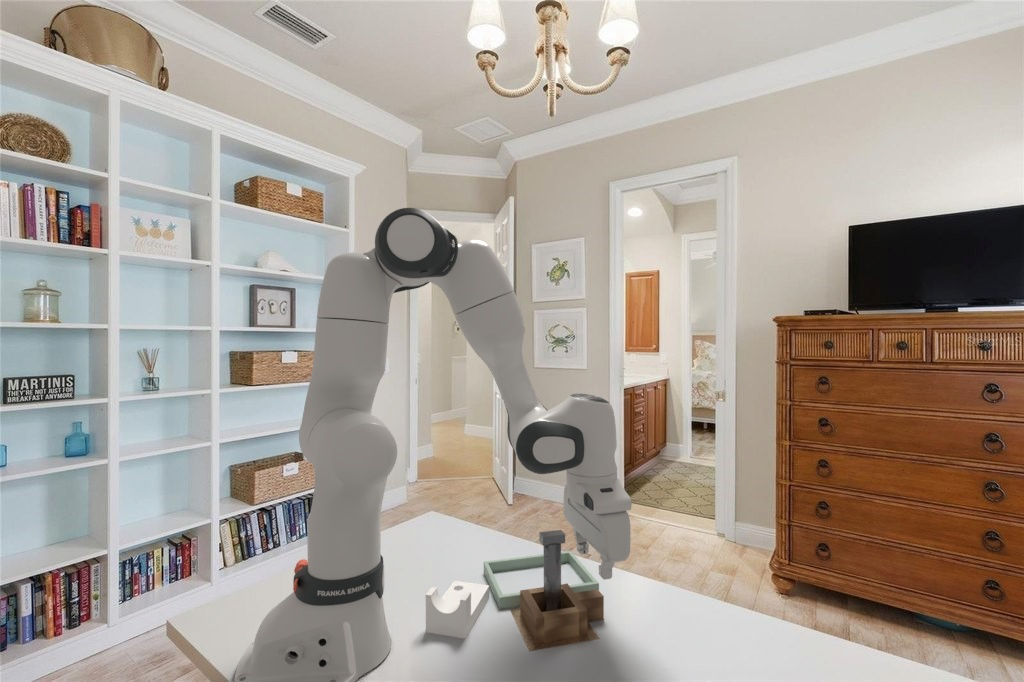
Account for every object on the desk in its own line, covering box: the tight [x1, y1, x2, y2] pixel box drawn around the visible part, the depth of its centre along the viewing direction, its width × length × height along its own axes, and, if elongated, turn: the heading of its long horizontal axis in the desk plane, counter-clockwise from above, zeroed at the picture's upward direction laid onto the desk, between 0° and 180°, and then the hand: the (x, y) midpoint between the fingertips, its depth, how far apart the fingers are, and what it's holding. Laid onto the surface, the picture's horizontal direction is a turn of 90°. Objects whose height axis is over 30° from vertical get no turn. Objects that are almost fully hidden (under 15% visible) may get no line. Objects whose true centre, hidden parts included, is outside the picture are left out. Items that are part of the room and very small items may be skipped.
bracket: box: [425, 580, 490, 640], centre depth 86 cm, size 13×7×8 cm, turn 165°
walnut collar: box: [519, 583, 605, 643], centre depth 83 cm, size 14×9×4 cm, turn 105°
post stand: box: [509, 529, 600, 652], centre depth 83 cm, size 12×12×16 cm
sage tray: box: [483, 550, 600, 610], centre depth 97 cm, size 20×15×3 cm
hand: (593, 564), depth 85 cm, fingers open, 8 cm apart
